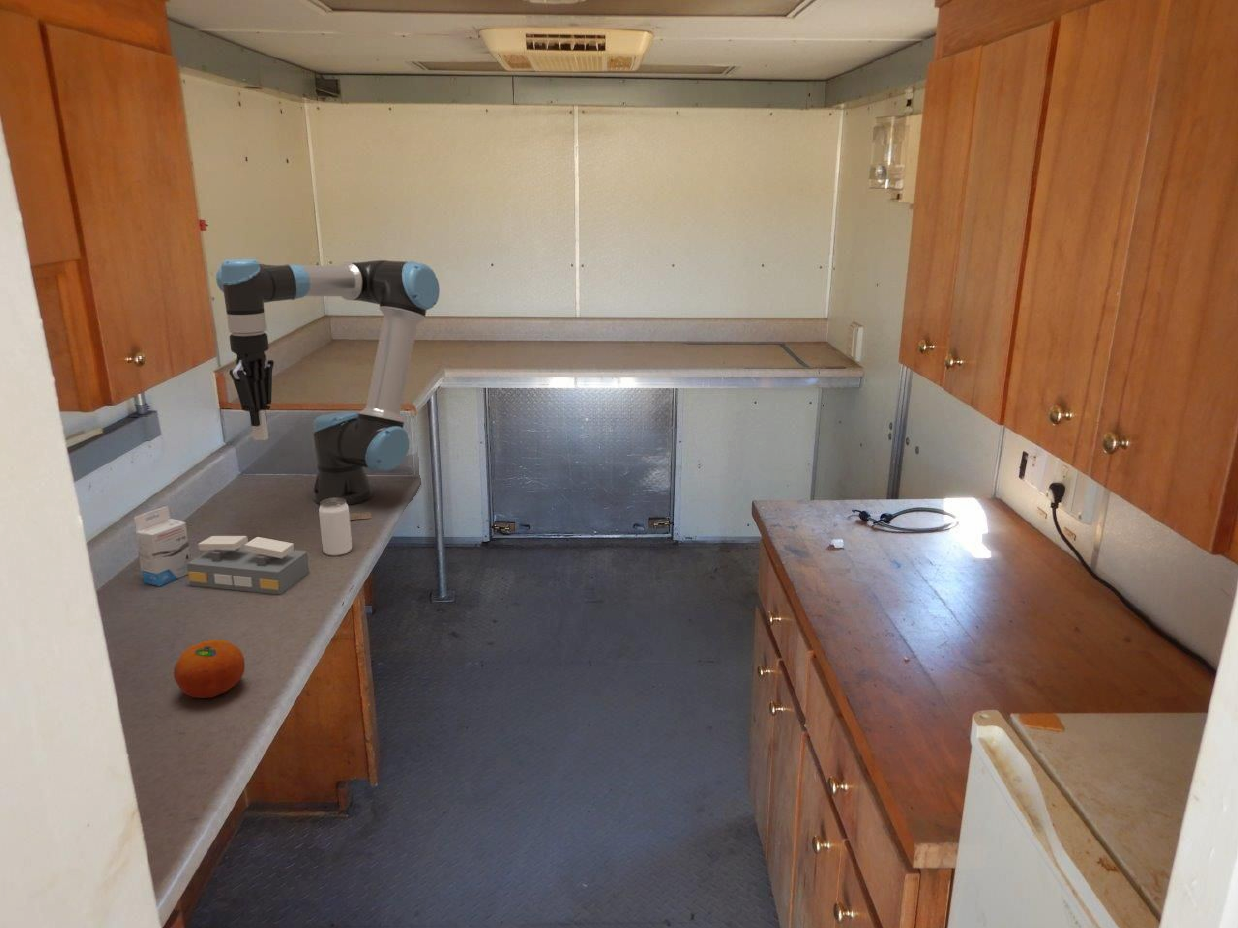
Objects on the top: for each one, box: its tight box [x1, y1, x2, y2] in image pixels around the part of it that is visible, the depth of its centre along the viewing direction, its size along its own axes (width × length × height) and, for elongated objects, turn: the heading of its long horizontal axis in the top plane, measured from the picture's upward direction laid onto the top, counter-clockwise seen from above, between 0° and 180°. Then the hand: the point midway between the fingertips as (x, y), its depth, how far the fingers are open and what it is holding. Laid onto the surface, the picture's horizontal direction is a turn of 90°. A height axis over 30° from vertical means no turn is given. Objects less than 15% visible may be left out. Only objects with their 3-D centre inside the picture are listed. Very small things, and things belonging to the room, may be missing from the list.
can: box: [318, 498, 353, 557], centre depth 199 cm, size 6×6×12 cm
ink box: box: [133, 505, 192, 587], centre depth 185 cm, size 9×5×15 cm, turn 154°
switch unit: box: [187, 545, 310, 596], centre depth 185 cm, size 11×21×7 cm, turn 78°
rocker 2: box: [243, 536, 295, 560], centre depth 183 cm, size 5×8×2 cm, turn 78°
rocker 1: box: [197, 535, 249, 555], centre depth 185 cm, size 5×8×2 cm, turn 78°
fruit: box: [173, 638, 246, 699], centre depth 144 cm, size 11×10×8 cm
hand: (260, 438), depth 194 cm, fingers closed
